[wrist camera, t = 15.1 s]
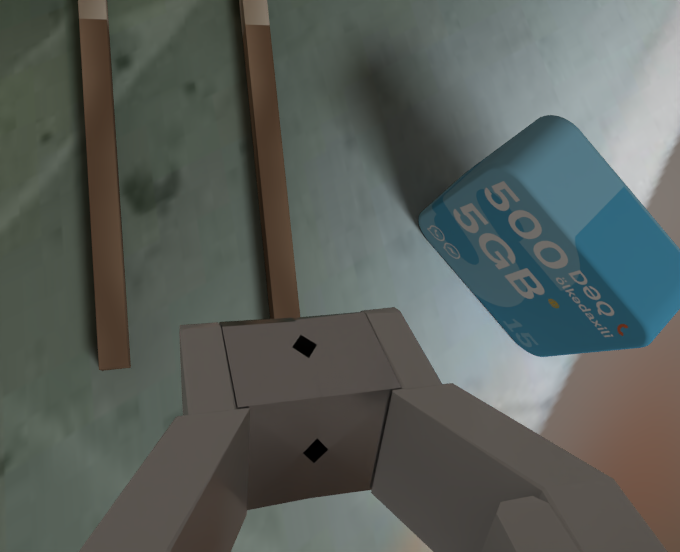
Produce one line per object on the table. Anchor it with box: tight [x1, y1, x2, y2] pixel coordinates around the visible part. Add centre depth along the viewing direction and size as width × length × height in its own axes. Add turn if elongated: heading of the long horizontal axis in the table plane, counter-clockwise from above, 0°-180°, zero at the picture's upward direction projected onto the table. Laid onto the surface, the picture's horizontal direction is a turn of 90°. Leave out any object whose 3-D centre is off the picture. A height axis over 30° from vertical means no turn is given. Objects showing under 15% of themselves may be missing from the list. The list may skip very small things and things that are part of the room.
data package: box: [419, 115, 680, 357], centre depth 36 cm, size 12×4×12 cm, turn 42°
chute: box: [78, 0, 300, 371], centre depth 37 cm, size 11×23×2 cm, turn 6°
